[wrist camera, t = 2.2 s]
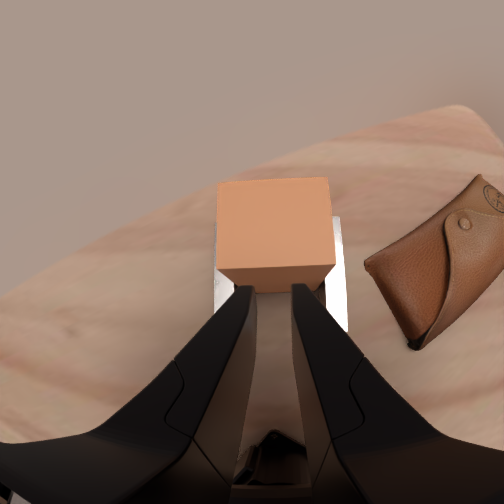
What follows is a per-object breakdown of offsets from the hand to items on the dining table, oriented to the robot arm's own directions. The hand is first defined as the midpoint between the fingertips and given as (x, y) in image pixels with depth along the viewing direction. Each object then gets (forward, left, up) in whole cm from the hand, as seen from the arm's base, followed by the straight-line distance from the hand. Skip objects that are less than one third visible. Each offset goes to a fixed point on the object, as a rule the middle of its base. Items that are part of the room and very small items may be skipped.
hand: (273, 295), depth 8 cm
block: (+2, -3, -13) cm, 14 cm away
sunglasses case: (-11, -12, -14) cm, 22 cm away
